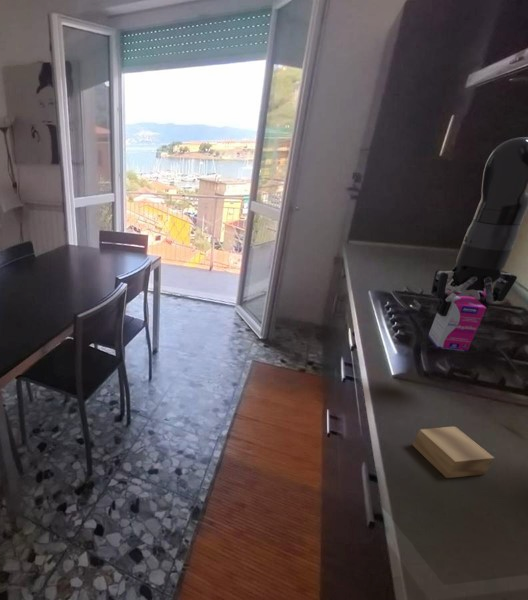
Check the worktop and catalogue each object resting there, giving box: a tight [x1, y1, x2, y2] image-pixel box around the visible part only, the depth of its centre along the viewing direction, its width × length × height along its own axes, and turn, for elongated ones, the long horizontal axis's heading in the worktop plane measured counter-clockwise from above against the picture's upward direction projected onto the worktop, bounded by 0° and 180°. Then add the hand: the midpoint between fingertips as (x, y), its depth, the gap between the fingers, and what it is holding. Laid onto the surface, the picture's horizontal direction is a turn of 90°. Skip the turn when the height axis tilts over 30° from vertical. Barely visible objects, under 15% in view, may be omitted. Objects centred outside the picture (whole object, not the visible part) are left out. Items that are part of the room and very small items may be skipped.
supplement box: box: [427, 295, 487, 353], centre depth 81 cm, size 6×6×12 cm
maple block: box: [412, 425, 495, 479], centre depth 70 cm, size 8×8×4 cm
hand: (458, 315), depth 80 cm, fingers closed on supplement box, 6 cm apart
